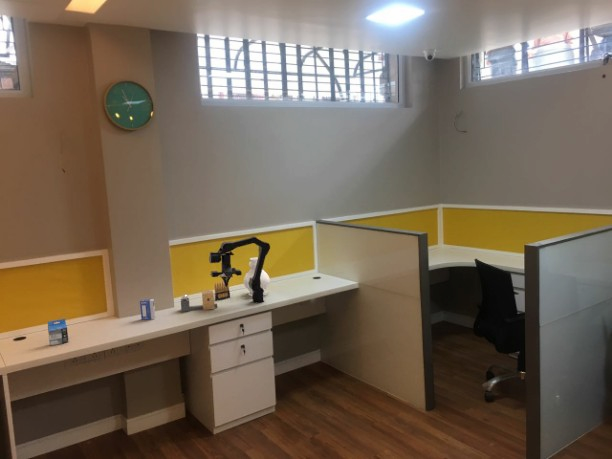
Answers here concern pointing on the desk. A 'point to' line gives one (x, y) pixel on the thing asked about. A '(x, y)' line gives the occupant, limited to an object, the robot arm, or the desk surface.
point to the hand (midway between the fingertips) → (226, 286)
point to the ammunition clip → (221, 291)
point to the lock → (208, 300)
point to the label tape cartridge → (57, 332)
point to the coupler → (186, 307)
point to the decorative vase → (263, 278)
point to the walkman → (147, 309)
